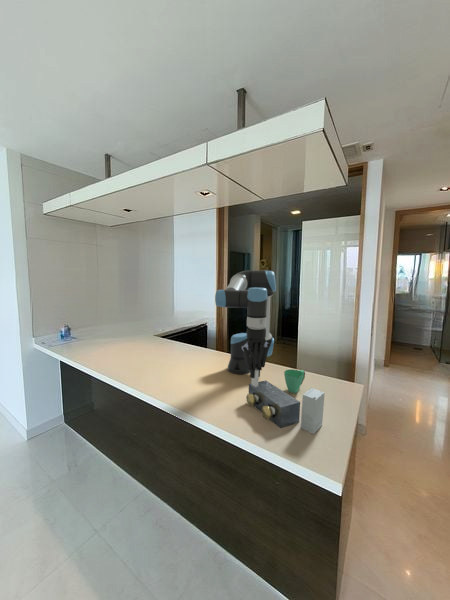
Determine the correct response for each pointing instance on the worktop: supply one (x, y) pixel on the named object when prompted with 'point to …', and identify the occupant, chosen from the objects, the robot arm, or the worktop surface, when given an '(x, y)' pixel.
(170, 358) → the worktop surface
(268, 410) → the knob right
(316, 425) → the skincare box
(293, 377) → the mug
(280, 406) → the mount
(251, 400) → the knob left
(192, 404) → the worktop surface
